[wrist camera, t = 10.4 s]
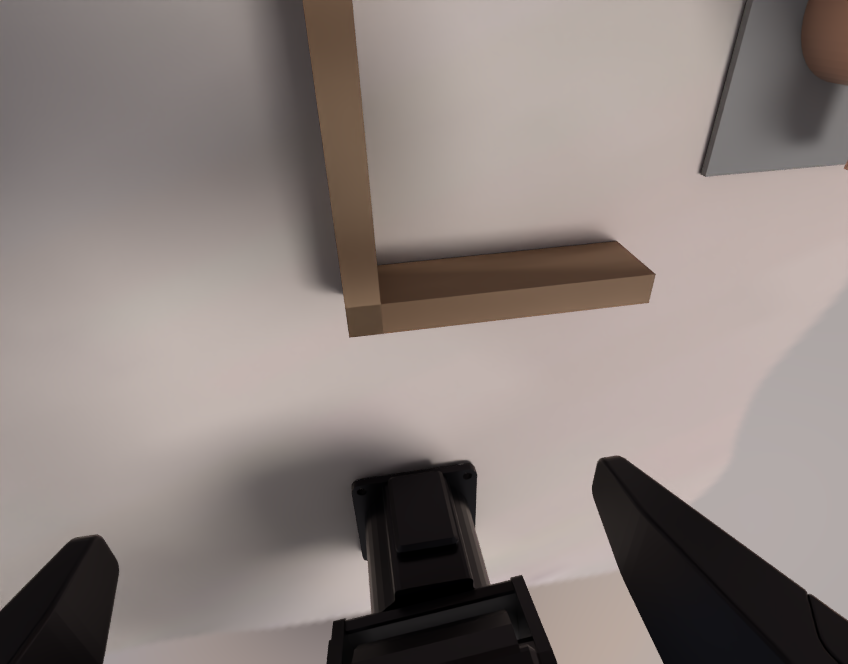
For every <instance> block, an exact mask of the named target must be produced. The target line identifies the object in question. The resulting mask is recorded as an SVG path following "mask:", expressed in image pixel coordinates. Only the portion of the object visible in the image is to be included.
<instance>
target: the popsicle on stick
mask: <svg viewBox="0 0 848 664" xmlns="http://www.w3.org/2000/svg"><path fill="white" fill-rule="evenodd" d="M801 46H802V52H803V56H804V59H805V62H806V64H807V66H808V67H809V69H810V70H811V71H812V72H813V74H814V75H816V76H817V77H818V78H820V79H822V80H824V81H826V82H831V83H836V84H841V85H846V86H848V0H808V3H807V6H806V10H805V13H804V17H803V23H802V31H801ZM844 169H846V170H848V160H847V162H846V165H845V167H844Z"/></svg>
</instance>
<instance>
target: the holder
mask: <svg viewBox="0 0 848 664" xmlns="http://www.w3.org/2000/svg"><path fill="white" fill-rule="evenodd" d="M303 8H304V15H305V22H306V29H307V36H308V44H309V51H310V58H311V65H312V72H313V79H314V87H315V94H316V101H317V108H318V115H319V123H320V130H321V137H322V144H323V151H324V159H325V166H326V173H327V180H328V187H329V194H330V202H331V209H332V216H333V223H334V230H335V238H336V245H337V252H338V259H339V266H340V274H341V281H342V288H343V295H344V302H345V309H346V317H347V324H348V331H349V338H350V337H359V336H367V335H376V334H384V333H393V332H402V331H410V330H419V329H427V328H436V327H445V326H453V325H462V324H470V323H479V322H488V321H496V320H505V319H513V318H522V317H531V316H539V315H548V314H556V313H565V312H574V311H582V310H591V309H599V308H608V307H617V306H625V305H634V304H643V303H649V299H650V295H651V291H652V287H653V283H654V279H655V275H656V274H655V273H654V272H652V271H651V270H650V269H649V268H648V267H647V266H645V265H644V264H643V263H642V262H641V261H639V260H638V259H637V258H636V257H635V256H634V255H632V254H631V253H630V252H629V251H628V250H627V249H625V248H624V247H623V246H622V245H621V244H620V243H618V242H617V241H614V242H604V243H594V244H585V245H575V246H565V247H555V248H545V249H535V250H525V251H515V252H505V253H496V254H486V255H476V256H466V257H456V258H446V259H436V260H426V261H416V262H407V263H397V264H387V265H377V260H376V249H375V238H374V228H373V217H372V207H371V196H370V185H369V175H368V164H367V153H366V143H365V132H364V121H363V111H362V100H361V89H360V79H359V68H358V58H357V47H356V36H355V26H354V15H353V4H352V0H303Z"/></svg>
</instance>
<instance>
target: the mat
mask: <svg viewBox="0 0 848 664" xmlns="http://www.w3.org/2000/svg"><path fill="white" fill-rule="evenodd" d="M807 3H808V0H747V2H746V6H745V10H744V13H743V17H742V21H741V25H740V28H739V32H738V36H737V40H736V44H735V47H734V51H733V55H732V59H731V62H730V66H729V70H728V74H727V77H726V81H725V85H724V89H723V93H722V96H721V100H720V104H719V108H718V111H717V115H716V119H715V123H714V127H713V130H712V134H711V138H710V142H709V145H708V149H707V153H706V157H705V160H704V164H703V168H702V172H701V175H703V176H705V177H707V176H718V175H730V174H741V173H752V172H764V171H775V170H786V169H798V168H809V167H820V166H832V165H843V164H846V162H847V160H848V86H846V85H841V84H836V83H831V82H826V81H824V80H822V79H820V78H818V77H817V76H816V75H814V74H813V72H812V71H811V70H810V69H809V67H808V66H807V64H806V62H805V59H804V56H803V52H802V46H801V31H802V23H803V17H804V13H805V10H806V6H807Z"/></svg>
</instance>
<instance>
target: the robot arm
mask: <svg viewBox="0 0 848 664" xmlns="http://www.w3.org/2000/svg"><path fill="white" fill-rule="evenodd" d="M465 473H466V474H465ZM476 488H477V473H476V470H475V467H474V466H473V465H472V464H461V465H454V466H447V467H440V468H434V469H427V470H420V471H413V472H406V473H400V474H393V475H386V476H379V477H372V478H366V479H360V480H356V481H355V482H353V484H352V497H353V503H354V509H355V515H356V521H357V526H358V532H359V538H360V544H361V550H362V556H363V559H364V560H366V561H368V573H369V587H370V600H371V614H370V615H366V616H361V617H357V618H353V619H349V620H346V618H344V619H340V620H336V621H333V628H332V638H331V640H329V645H328V654H327V664H557V661H556V658H555V656H554V654H553V650H552V648H551V646H550V643H549V640H548V638H547V636H546V633H545V631H544V628H543V626H542V623H541V621H540V618H539V616H538V613H537V611H536V608H535V606H534V604H533V601H532V598H531V596H530V593H529V591H528V589H527V586H526V584H525V581H524V579H523V576H522V575H519V576H515V577H511V578H510V579H511V580H508V581H504V582H500V583H496V584H492V585H490V581H489V578H488V574H487V570H486V567H485V563H484V560H483V556H482V552H481V549H480V545H479V542H478V538H477V534H476V531H475V517H476ZM592 494H593V498H594V501H595V504H596V507H597V509H598V512H599V515H600V518H601V520H602V523H603V526H604V529H605V532H606V534H607V537H608V540H609V543H610V546H611V548H612V551H613V554H614V557H615V560H616V562H617V565H618V567H619V570H620V573H621V575H622V577H623V580H624V582H625V584H626V586H627V588H628V590H629V593H630V595H631V596H632V599H633V601H634V603H635V605H636V607H637V609H638V611H639V613H640V615H641V617H642V620H643V621H644V624H645V626H646V628H647V630H648V632H649V634H650V636H651V638H652V640H653V642H654V644H655V647H656V648H657V650H658V653H659V655H660V657H661V659H662V661H663V663H664V664H848V620H847V619H845V618H844V617H842V616H841V615H840V614H838V613H837V612H835V611H834V610H832V609H831V608H829V607H828V606H827V605H826V604H824V603H823V602H821V601H820V600H819V599H817V598H816V597H815V596H813V595H812V594H807V592H806V590H805V589H803V588H802V587H800V586H799V585H798V584H797V583H795V582H794V581H792V580H791V579H789V578H788V577H787V576H785V575H784V574H783V573H781V572H780V571H779V570H777V569H776V568H775V567H773V566H772V565H770V564H769V563H767V562H766V561H765V560H764V559H762V558H761V557H759V556H758V555H757V554H755V553H754V552H752V551H751V550H750V549H748V548H747V547H746V546H744V545H743V544H742V543H740V542H739V541H737V540H736V539H735V538H733V537H732V536H730V535H729V534H728V533H726V532H725V531H724V530H722V529H721V528H720V527H718V526H717V525H715V524H714V523H713V522H711V521H710V520H709V519H707V518H706V517H705V516H703V515H702V514H700V513H699V512H698V511H696V510H695V509H693V508H692V507H691V506H689V505H688V504H687V503H685V502H684V501H683V500H681V499H680V498H678V497H677V496H676V495H674V494H673V493H672V492H670V491H669V490H667V489H666V488H665V487H663V486H662V485H661V484H659V483H658V482H656V481H655V480H654V479H652V478H651V477H650V476H648V475H647V474H645V473H644V472H643V471H641V470H640V469H639V468H637V467H636V466H634V465H633V464H632V463H630V462H629V461H628V460H626V459H625V458H623V457H621V456H611V457H604V458H600V459H599V461H598V462H597V466H596V471H595V475H594V479H593V484H592ZM118 576H119V565H118V562H117V559H116V558H115V556H114V555H113V553H112V551H111V550H110V548H109V547H108V545H107V544H106V542H105V540H104V539H103V538H102V537H101V536H99V535H89V536H82V537H77V538H74V539H72V540H70V541H69V542H68V543H67V544H66V545H65V546H64V547H63V548H62V549H61V550H60V551H59V552H58V553H57V554H56V555H55V556H54V557H53V558H52V559H51V560H50V561H49V562H48V563H47V564H46V565H45V566H44V567H43V568H42V569H41V570H40V571H39V572H38V573H37V574H36V575H35V576H34V577H33V578H32V579H31V580H30V581H29V582H28V583H27V584H26V585H25V586H24V587H23V588H22V589H21V590H20V591H19V592H18V593H17V594H16V595H15V596H14V597H13V599H12V600H11V601H10V602H9V603H8V604H7V605H6V606H5V607H4V608H3V609H2V610H1V611H0V664H103V661H104V656H105V651H106V645H107V639H108V633H109V628H110V622H111V616H112V611H113V605H114V599H115V593H116V588H117V582H118Z"/></svg>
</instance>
